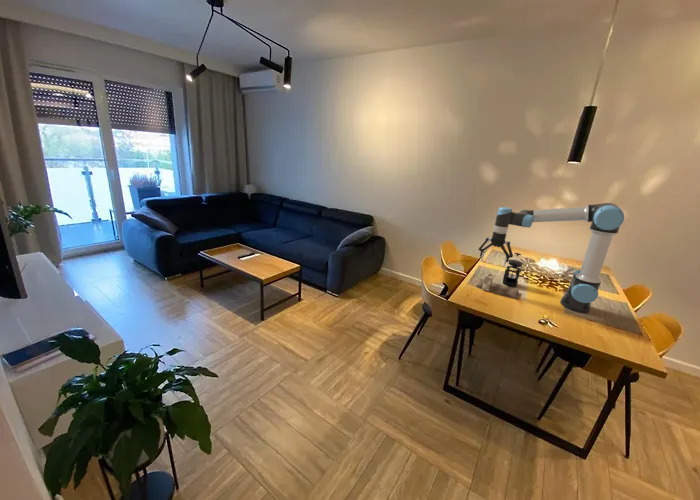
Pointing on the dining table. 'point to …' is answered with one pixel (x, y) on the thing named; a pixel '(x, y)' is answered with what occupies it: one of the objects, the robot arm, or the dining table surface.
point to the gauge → (487, 281)
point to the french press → (511, 278)
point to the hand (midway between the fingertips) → (492, 263)
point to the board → (500, 289)
